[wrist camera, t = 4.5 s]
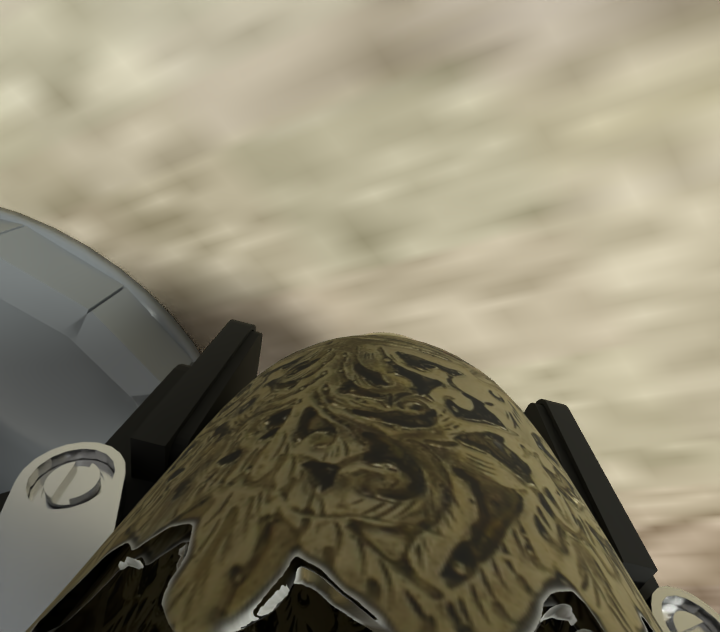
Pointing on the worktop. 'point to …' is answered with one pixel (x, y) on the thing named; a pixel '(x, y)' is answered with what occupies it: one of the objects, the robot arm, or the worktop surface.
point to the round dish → (72, 344)
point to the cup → (365, 512)
